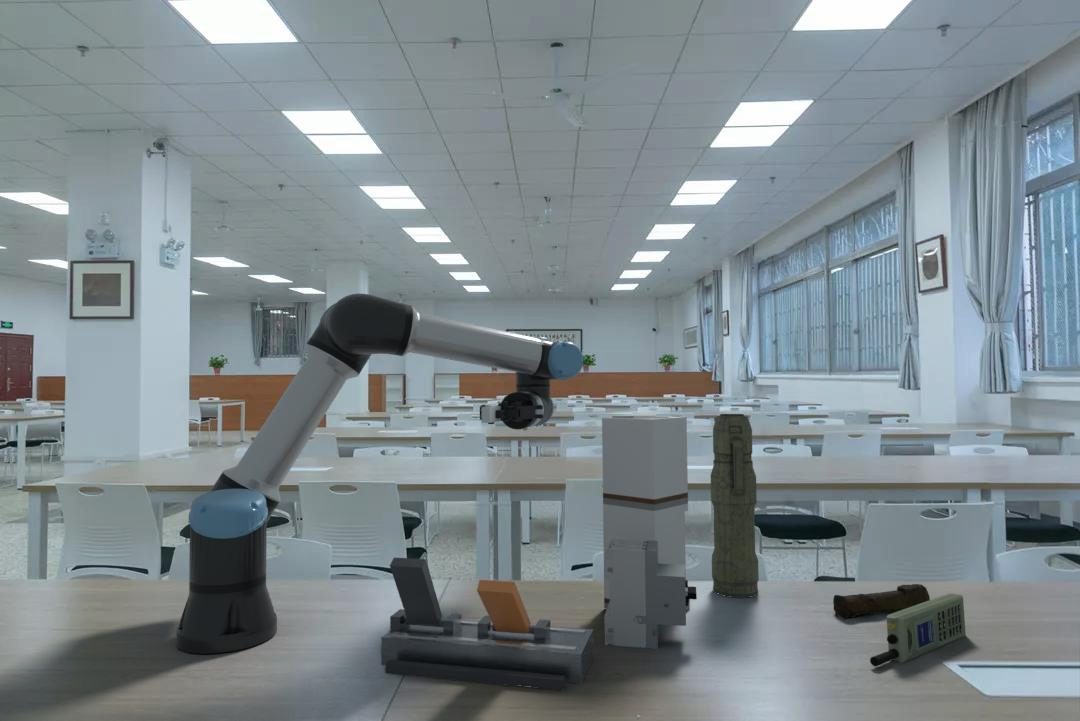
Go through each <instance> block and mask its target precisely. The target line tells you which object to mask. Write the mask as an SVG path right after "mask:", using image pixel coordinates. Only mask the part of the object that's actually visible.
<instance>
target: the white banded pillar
mask: <svg viewBox="0 0 1080 721" xmlns="http://www.w3.org/2000/svg"><path fill="white" fill-rule="evenodd" d="M687 419H688V417H687V416H663V415H662V416H661V415H659V416H657V415H633V417H632V418H630V417H602V418H601V432H602V434H601V438H602V439H601V442H602V444H601V447H602V450H601V451H602V453H601V454H602V516H603V518H602V522H603V523H602V524H603V526H602V528H603V529H602V532H603V533H602V534H603V536H602V537H603V538H602V539H603V560H604V559H605V550H606V547H607V545H608V543H609V541H610V539H612V540H617V539H622V540H647V541H648V540H650V541H658V563H660V564H681V565H685V580H687V578H686V577H687V576H686V575H687V573H686V571H687V570H686V568H687V567H686V566H687V565H686V519H685V518H686V515H685V514H686V512H689V492H688V491H689V488H688V486H689V485H688V484H689V483H688V482H689V481H688V479H689V478H688V474H689V473H688V432H687V430H688V425H687V424H688V423H687ZM603 598H604V599H603V600H604V601H603V606H604V608H606V609H607V607H608V604H609V601H610V577H606V576H604V575H603ZM690 603H691V599H688V606H686V611H688V610H690V607H691V606H690V605H691V604H690ZM604 608H603V609H604ZM606 609H605V610H606Z"/></svg>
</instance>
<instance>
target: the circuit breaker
mask: <svg viewBox="0 0 1080 721" xmlns="http://www.w3.org/2000/svg"><path fill="white" fill-rule="evenodd" d="M685 565H686V564H685ZM685 565H681V564H660V563H658V541H650V540H648V541H647V540H622V539H617V540H612V539H610V541H609V543H608V545H607V547H606V550H605V559H604V558H603V577H604V576H606V577H610V601H609V604H608V607H607V610H606V609H605V610H606V611H605V614H604V645H605V646H609V645H608V644H611V645H613V646H614V647H627V648H628V647H629V648H640V647H641V648H642V649H658V646H659V636H660V635H659V633H660V625H664V626H681V627H683V626H684V627H686V626H687V610H686V606H688V599H690V600H697V598H698V597H697V596H698V595H697V587H696V586H689V582H688V580H687V579H686V580H685ZM611 645H610V646H611Z"/></svg>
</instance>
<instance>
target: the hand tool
mask: <svg viewBox="0 0 1080 721" xmlns="http://www.w3.org/2000/svg"><path fill="white" fill-rule="evenodd" d="M930 598H931V597H930V594H929V592H928V590H927V587H926V586H924V585H923V584H919V583H911V584H901V585H898V586H897V588H896V590H895V589H894V590H890V591H882V592H874V593H859V594H850V595H839V594H834V596H833V602H832V604H833V611H834V613H835V616H836V615H837V616H838V617H840V618H842V619H848V618H849V617H851V618H855V617H856V616H859V615H860V616H861V615H865V614H867V615H868V614H876V613H884V612H895V611H901V610H903V609H906V608H909V607H912V606H915V605H918V604H921V603H923V602H926V601H929V600H931V599H930Z"/></svg>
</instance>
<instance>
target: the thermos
mask: <svg viewBox="0 0 1080 721" xmlns="http://www.w3.org/2000/svg"><path fill="white" fill-rule="evenodd" d="M712 446H713V447H712V451H713V452H712V453H713V455H714V457H713V458H714V459H713V461H712V462H713V466H712V470H711V473H710V502H711V504H712V506H713V540H714V541H713V545H714V548H713V549H714V550H713V551H712V555H711V578H712V581H713V582H712V591H713V590H714V591H715V592H716V593H715V592H714V591H713V592H714V593H715V594H717V593H719V594H722V595H725V596H724V597H727V596H731V597H730V598H734V597H739V598H738V599H741V598H740V597H747V598H751V597H750V596H753V597H755V596H754V595H756V596H757V595H758V594H759V588H758V583H759V580H760V579H759V576H760V575H759V573H760V572H759V559H758V558H759V557H758V556H757V554H756V529H755V525H756V523H755V520H756V519H755V507H756V505H757V502H758V500H757V497H758V496H757V476H756V471H755V469H754V464H753V463H754V462H753V460H752V459H753V458H752V454H753V429H752V425H751V422H750V419H749V416H748V415H745V414H744V413H720V414H719V415H718V416H716V418H715V421H714V424H713V427H712ZM757 593H758V594H757ZM719 594H718V595H719ZM722 595H721V596H722Z"/></svg>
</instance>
